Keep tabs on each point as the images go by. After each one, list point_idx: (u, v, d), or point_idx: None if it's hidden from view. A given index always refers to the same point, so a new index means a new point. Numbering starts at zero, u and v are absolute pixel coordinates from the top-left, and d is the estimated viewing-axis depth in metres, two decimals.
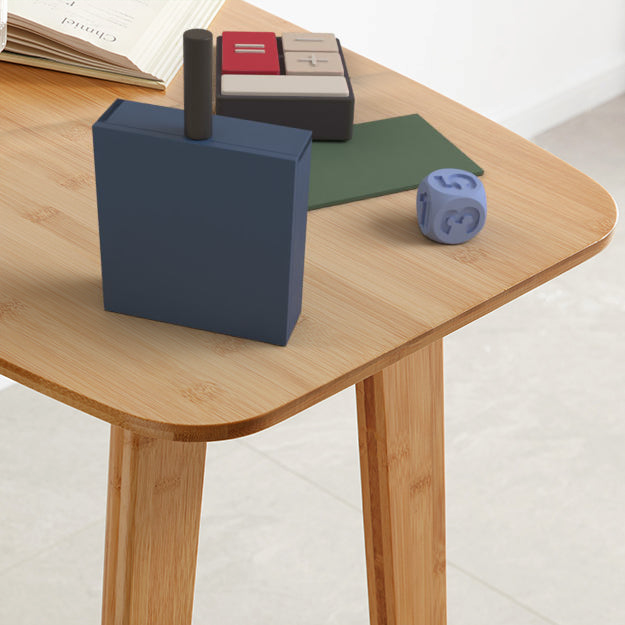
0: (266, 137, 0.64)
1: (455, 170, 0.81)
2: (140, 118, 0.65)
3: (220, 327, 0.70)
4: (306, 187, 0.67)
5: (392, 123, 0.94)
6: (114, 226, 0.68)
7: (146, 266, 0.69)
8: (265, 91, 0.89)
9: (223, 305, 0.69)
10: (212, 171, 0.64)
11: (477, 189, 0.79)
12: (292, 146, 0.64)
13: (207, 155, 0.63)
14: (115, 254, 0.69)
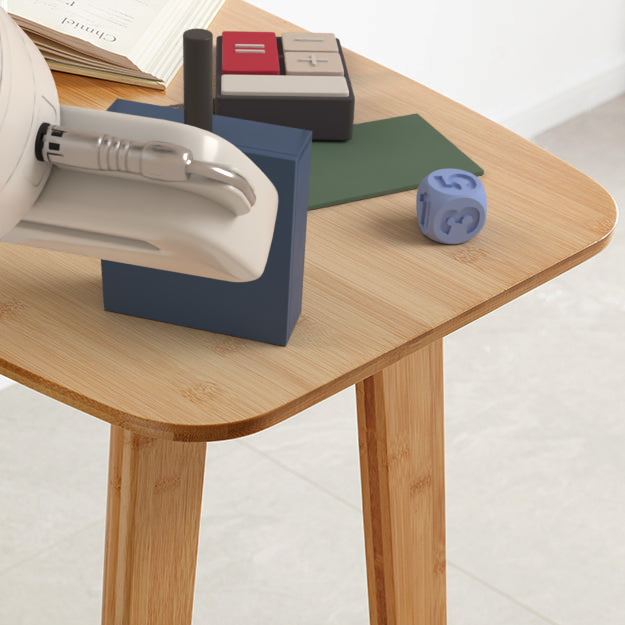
0: (266, 137, 0.64)
1: (455, 170, 0.81)
2: None
3: (220, 327, 0.70)
4: (306, 187, 0.67)
5: (392, 123, 0.94)
6: None
7: None
8: (265, 91, 0.89)
9: (223, 305, 0.69)
10: None
11: (477, 189, 0.79)
12: (292, 146, 0.64)
13: None
14: None
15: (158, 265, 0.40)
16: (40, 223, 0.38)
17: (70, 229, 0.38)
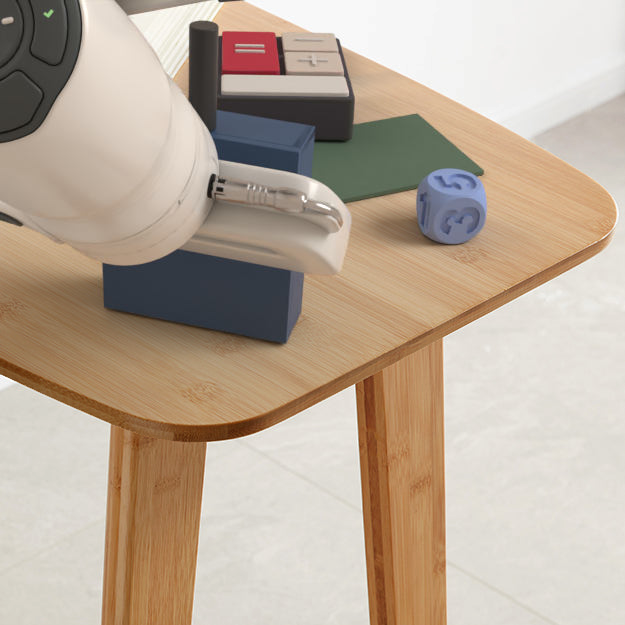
0: (270, 131, 0.65)
1: (455, 170, 0.81)
2: None
3: (220, 324, 0.70)
4: None
5: (392, 123, 0.94)
6: None
7: (147, 262, 0.69)
8: (265, 91, 0.89)
9: (224, 301, 0.69)
10: None
11: (477, 189, 0.79)
12: (295, 139, 0.64)
13: None
14: None
15: (270, 264, 0.59)
16: (195, 235, 0.57)
17: (216, 239, 0.57)
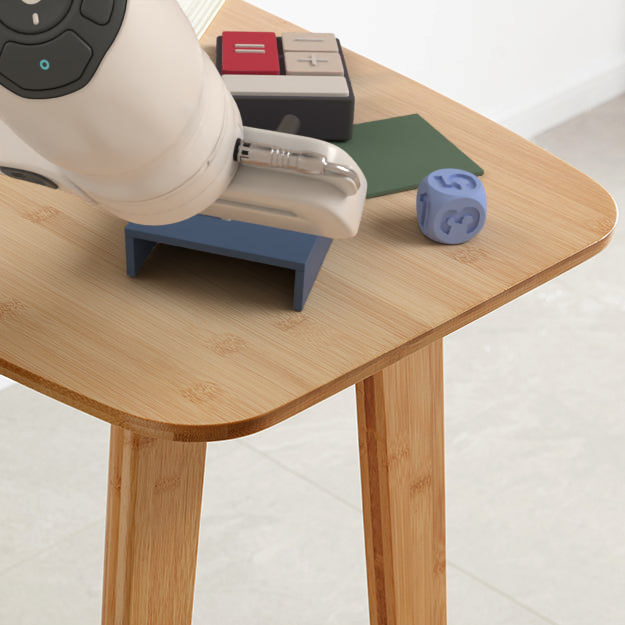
0: None
1: (455, 170, 0.81)
2: None
3: (242, 246, 0.72)
4: None
5: (392, 123, 0.94)
6: None
7: None
8: (265, 91, 0.89)
9: (253, 232, 0.73)
10: None
11: (477, 189, 0.79)
12: None
13: None
14: None
15: (290, 227, 0.63)
16: (220, 199, 0.61)
17: (239, 203, 0.61)
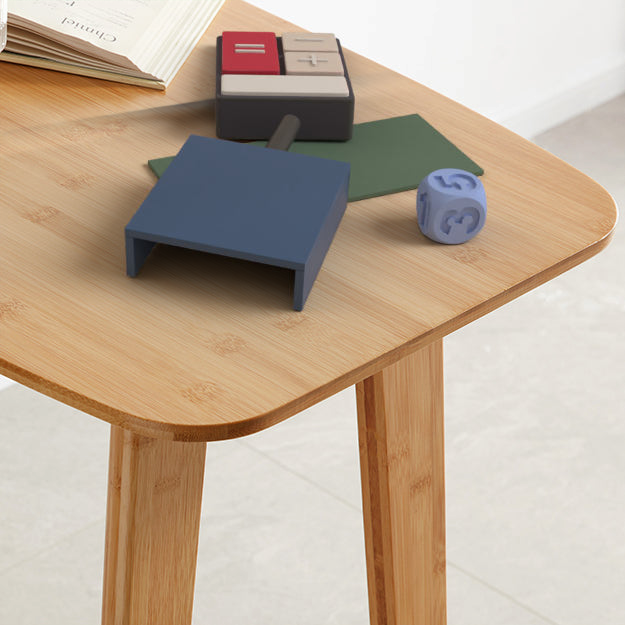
0: None
1: (455, 170, 0.81)
2: None
3: (242, 246, 0.72)
4: (337, 223, 0.80)
5: (392, 123, 0.94)
6: (173, 180, 0.77)
7: (189, 204, 0.75)
8: (265, 91, 0.89)
9: (253, 232, 0.73)
10: (280, 161, 0.80)
11: (477, 189, 0.79)
12: None
13: (280, 154, 0.81)
14: (163, 195, 0.76)
15: None
16: None
17: None
